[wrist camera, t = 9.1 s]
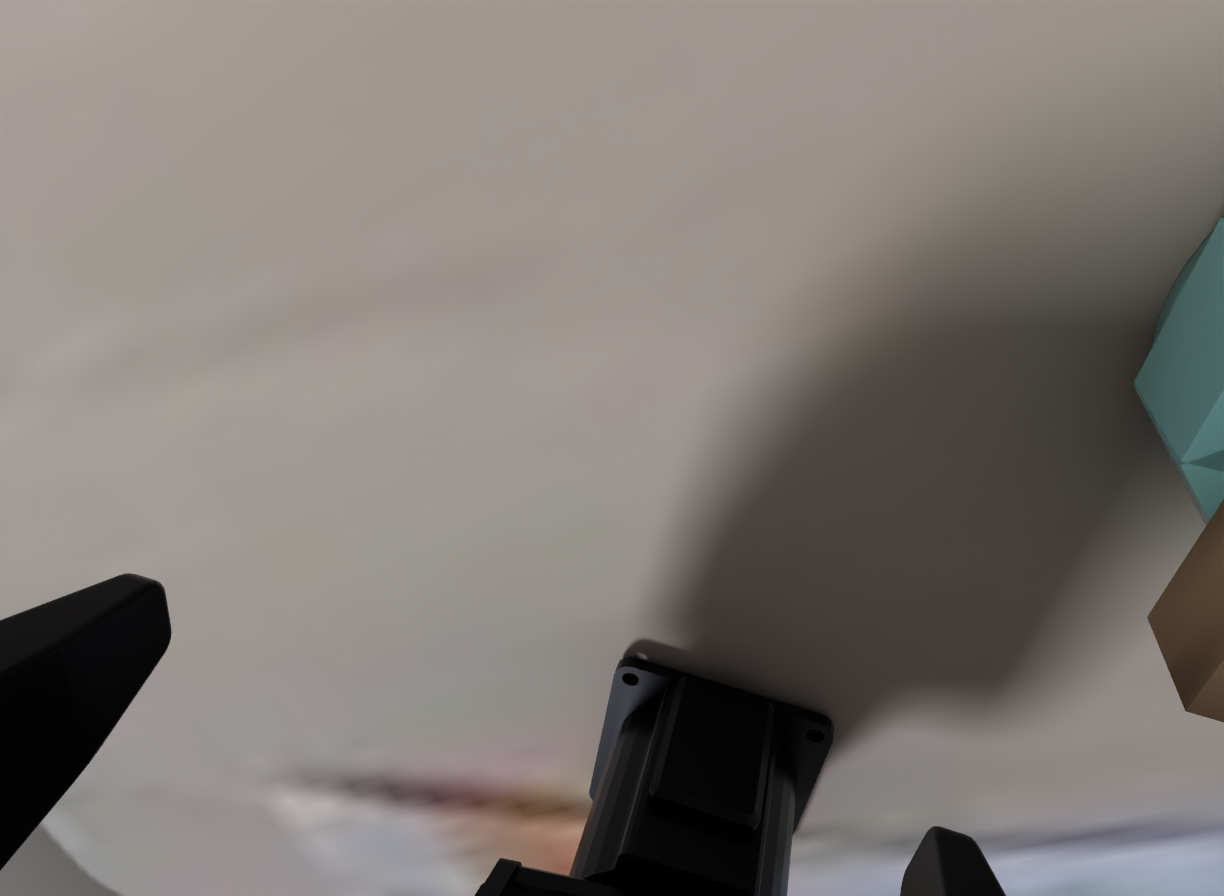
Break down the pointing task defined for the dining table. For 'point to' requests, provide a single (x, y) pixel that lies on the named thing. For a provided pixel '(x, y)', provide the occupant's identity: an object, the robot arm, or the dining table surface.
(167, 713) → the dining table surface
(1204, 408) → the bowl
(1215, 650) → the board
